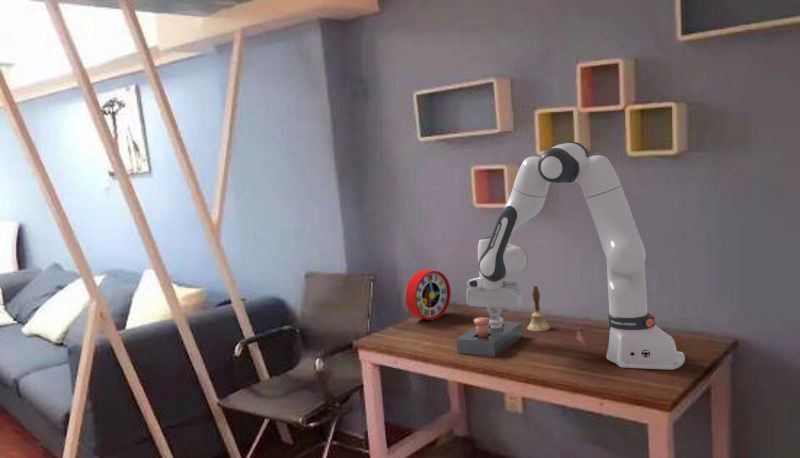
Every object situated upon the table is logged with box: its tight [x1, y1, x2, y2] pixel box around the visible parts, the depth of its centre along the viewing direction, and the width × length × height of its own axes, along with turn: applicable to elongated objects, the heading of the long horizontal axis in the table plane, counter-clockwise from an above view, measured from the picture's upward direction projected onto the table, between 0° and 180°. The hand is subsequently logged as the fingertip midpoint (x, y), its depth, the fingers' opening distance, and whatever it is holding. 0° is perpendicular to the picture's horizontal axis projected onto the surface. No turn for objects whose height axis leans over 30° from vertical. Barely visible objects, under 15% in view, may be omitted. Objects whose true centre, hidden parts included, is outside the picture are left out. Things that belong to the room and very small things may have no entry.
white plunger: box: [488, 316, 504, 329], centre depth 228 cm, size 5×5×6 cm
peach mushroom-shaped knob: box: [473, 316, 489, 338], centre depth 219 cm, size 5×5×6 cm
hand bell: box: [527, 285, 551, 333], centre depth 236 cm, size 8×8×16 cm
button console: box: [455, 320, 523, 358], centre depth 224 cm, size 14×23×5 cm, turn 147°
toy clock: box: [404, 269, 452, 321], centre depth 263 cm, size 20×6×20 cm, turn 131°
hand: (495, 319), depth 228 cm, fingers closed, pressing on white plunger
